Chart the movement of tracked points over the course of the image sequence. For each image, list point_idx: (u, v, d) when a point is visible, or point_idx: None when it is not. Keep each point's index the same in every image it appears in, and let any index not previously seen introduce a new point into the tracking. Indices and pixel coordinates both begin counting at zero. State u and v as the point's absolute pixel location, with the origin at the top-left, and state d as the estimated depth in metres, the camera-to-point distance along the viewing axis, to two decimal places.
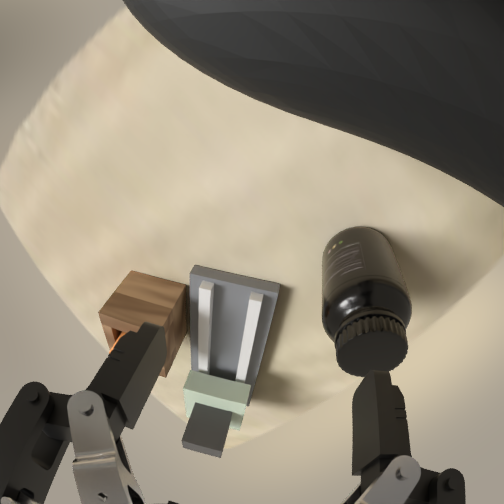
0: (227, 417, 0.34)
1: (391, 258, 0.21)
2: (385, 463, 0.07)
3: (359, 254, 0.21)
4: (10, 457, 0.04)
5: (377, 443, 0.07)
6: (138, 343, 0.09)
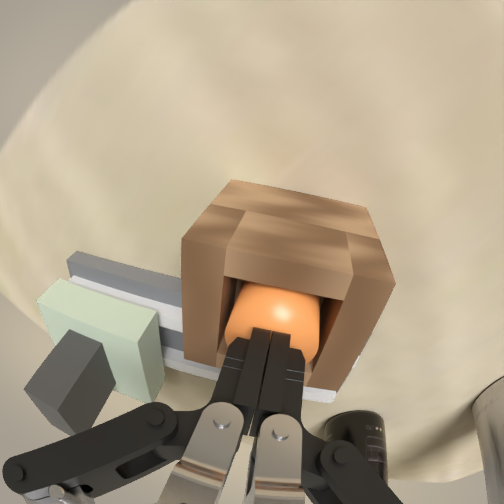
0: (109, 390, 0.19)
1: None
2: None
3: None
4: (91, 460, 0.05)
5: (259, 398, 0.09)
6: (255, 349, 0.10)
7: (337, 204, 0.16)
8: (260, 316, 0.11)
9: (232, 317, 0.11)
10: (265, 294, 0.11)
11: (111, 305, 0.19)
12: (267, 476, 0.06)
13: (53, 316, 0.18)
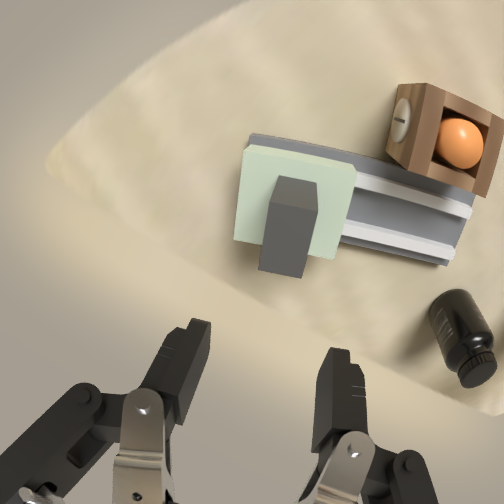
0: None
1: None
2: (339, 439, 0.08)
3: None
4: (42, 452, 0.05)
5: (330, 417, 0.08)
6: (189, 339, 0.10)
7: None
8: (461, 125, 0.16)
9: (449, 126, 0.17)
10: (458, 119, 0.17)
11: (317, 158, 0.24)
12: (330, 486, 0.06)
13: (262, 164, 0.23)
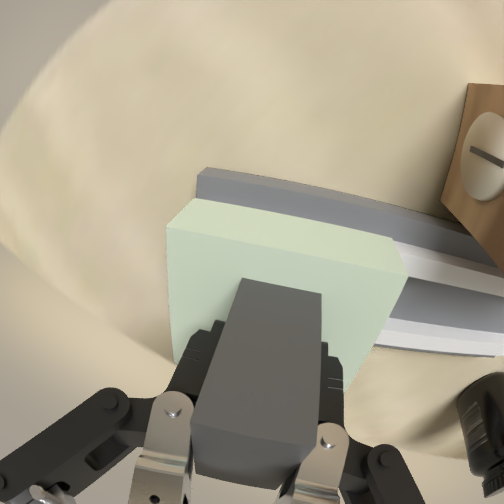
0: None
1: None
2: None
3: None
4: (60, 453, 0.05)
5: None
6: (214, 341, 0.10)
7: None
8: None
9: None
10: None
11: (324, 230, 0.12)
12: (307, 480, 0.06)
13: (206, 255, 0.11)
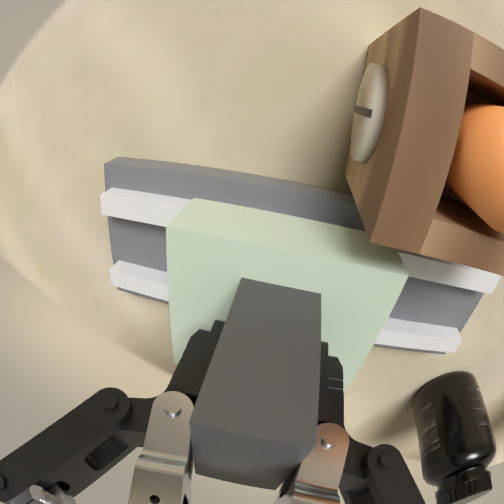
0: None
1: None
2: None
3: None
4: (60, 453, 0.05)
5: None
6: (214, 341, 0.10)
7: None
8: None
9: (486, 125, 0.05)
10: None
11: (324, 230, 0.12)
12: (307, 481, 0.06)
13: (206, 255, 0.11)
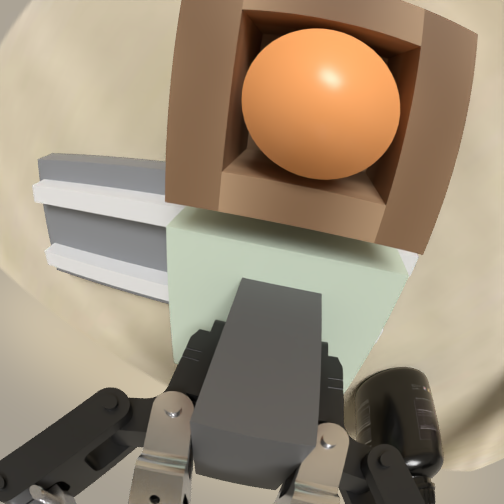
0: None
1: None
2: None
3: None
4: (60, 453, 0.05)
5: None
6: (214, 341, 0.10)
7: None
8: (303, 46, 0.06)
9: (256, 58, 0.06)
10: None
11: None
12: (307, 480, 0.06)
13: (206, 255, 0.11)
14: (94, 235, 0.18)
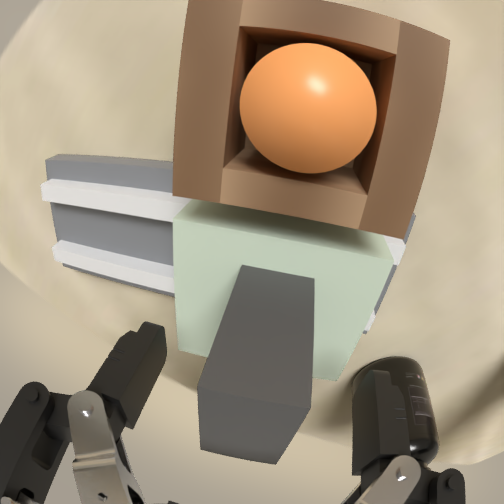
0: None
1: None
2: (385, 463, 0.07)
3: None
4: (10, 457, 0.04)
5: (377, 443, 0.07)
6: (138, 343, 0.09)
7: None
8: (291, 59, 0.07)
9: (252, 70, 0.07)
10: None
11: (316, 221, 0.13)
12: (371, 503, 0.05)
13: (209, 244, 0.12)
14: (100, 231, 0.19)
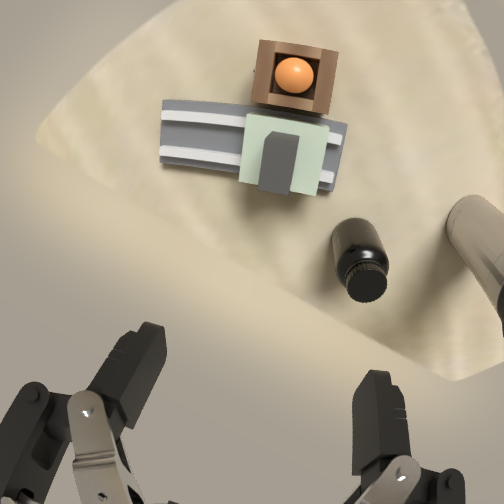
0: (292, 177, 0.32)
1: None
2: (385, 463, 0.07)
3: None
4: (10, 457, 0.04)
5: (377, 443, 0.07)
6: (138, 343, 0.09)
7: None
8: (289, 62, 0.25)
9: None
10: None
11: (300, 120, 0.32)
12: (371, 503, 0.05)
13: (260, 123, 0.31)
14: (193, 137, 0.37)
